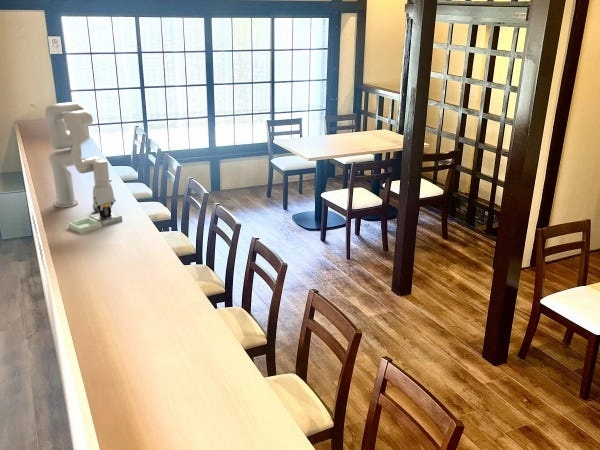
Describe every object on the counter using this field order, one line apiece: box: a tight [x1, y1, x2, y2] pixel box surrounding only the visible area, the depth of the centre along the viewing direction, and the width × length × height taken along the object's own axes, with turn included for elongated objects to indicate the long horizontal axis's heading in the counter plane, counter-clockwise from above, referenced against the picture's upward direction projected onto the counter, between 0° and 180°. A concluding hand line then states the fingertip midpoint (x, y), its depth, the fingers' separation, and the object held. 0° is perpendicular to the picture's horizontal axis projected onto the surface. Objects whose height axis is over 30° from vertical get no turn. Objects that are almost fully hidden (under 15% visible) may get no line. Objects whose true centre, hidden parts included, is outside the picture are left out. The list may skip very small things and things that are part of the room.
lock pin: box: [103, 203, 109, 218], centre depth 302 cm, size 5×5×10 cm
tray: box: [67, 216, 103, 235], centre depth 294 cm, size 12×12×3 cm
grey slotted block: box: [89, 210, 123, 228], centre depth 304 cm, size 12×12×3 cm
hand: (105, 215), depth 303 cm, fingers closed on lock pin, 3 cm apart
